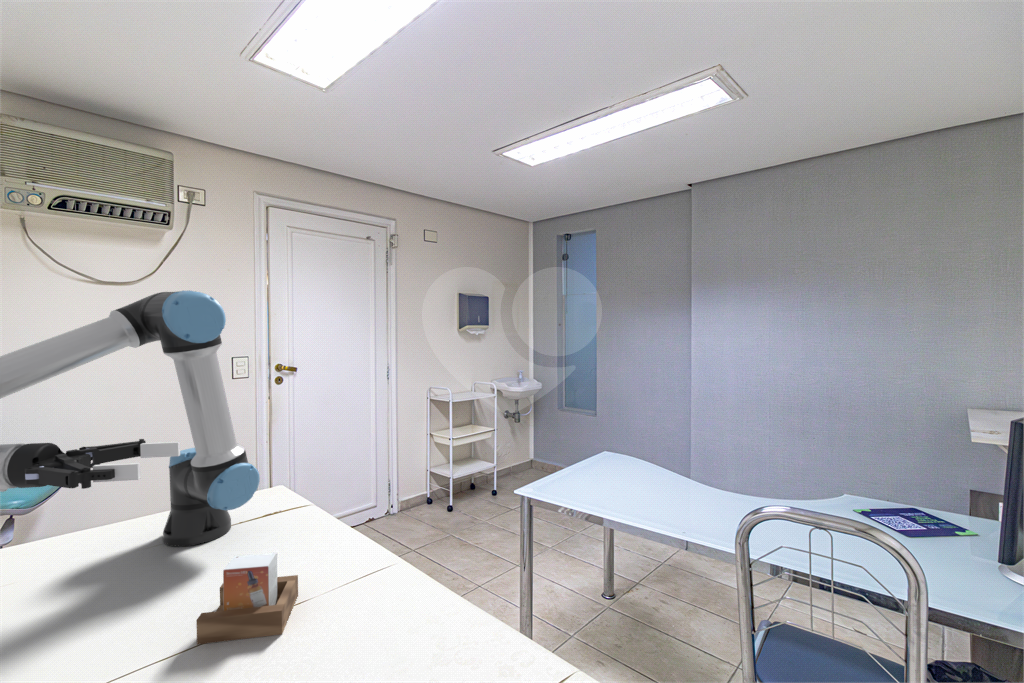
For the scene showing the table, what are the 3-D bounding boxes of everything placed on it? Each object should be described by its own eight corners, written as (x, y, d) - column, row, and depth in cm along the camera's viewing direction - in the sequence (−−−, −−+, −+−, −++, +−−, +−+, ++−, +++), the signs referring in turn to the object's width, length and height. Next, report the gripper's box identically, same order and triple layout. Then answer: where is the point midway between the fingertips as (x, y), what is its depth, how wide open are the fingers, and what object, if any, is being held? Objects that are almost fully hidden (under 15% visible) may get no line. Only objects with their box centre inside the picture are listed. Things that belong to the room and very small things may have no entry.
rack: (224, 603, 94) (223, 582, 94) (298, 595, 97) (297, 575, 97) (197, 644, 82) (196, 620, 82) (282, 634, 85) (281, 610, 85)
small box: (222, 625, 86) (221, 570, 86) (234, 606, 92) (233, 554, 91) (269, 620, 88) (268, 565, 87) (278, 602, 93) (277, 551, 93)
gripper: (74, 464, 93) (193, 459, 97) (-47, 516, 69) (118, 506, 73) (73, 427, 93) (192, 423, 97) (-49, 467, 68) (117, 459, 73)
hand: (161, 459), depth 85 cm, fingers open, 13 cm apart
